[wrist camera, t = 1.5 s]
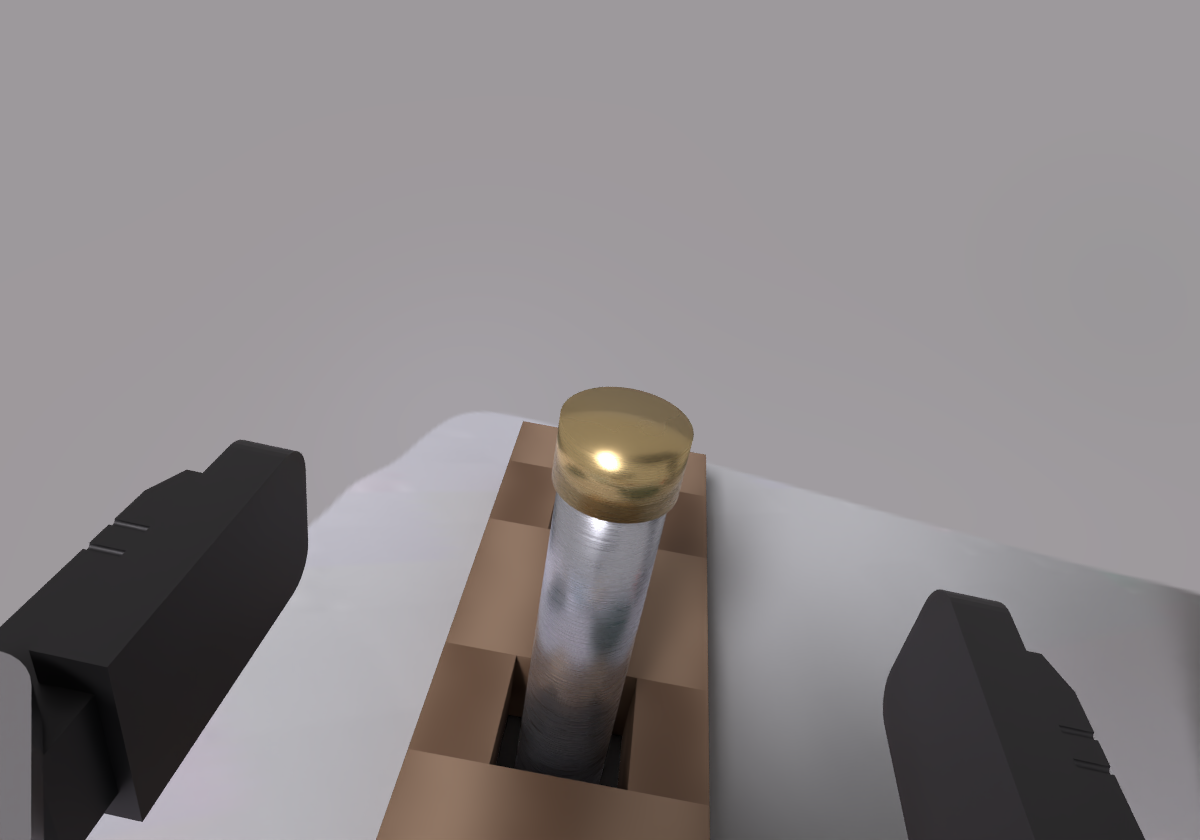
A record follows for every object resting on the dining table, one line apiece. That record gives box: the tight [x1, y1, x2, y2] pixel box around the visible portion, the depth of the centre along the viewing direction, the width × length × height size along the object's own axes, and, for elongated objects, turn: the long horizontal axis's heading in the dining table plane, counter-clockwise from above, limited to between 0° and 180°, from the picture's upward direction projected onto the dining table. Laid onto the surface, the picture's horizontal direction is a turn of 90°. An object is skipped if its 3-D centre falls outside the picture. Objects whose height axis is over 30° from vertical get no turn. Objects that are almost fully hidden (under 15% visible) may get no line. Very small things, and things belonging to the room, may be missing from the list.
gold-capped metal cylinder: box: [514, 387, 694, 785], centre depth 26 cm, size 4×4×16 cm
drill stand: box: [376, 421, 710, 840], centre depth 34 cm, size 10×24×4 cm, turn 174°
